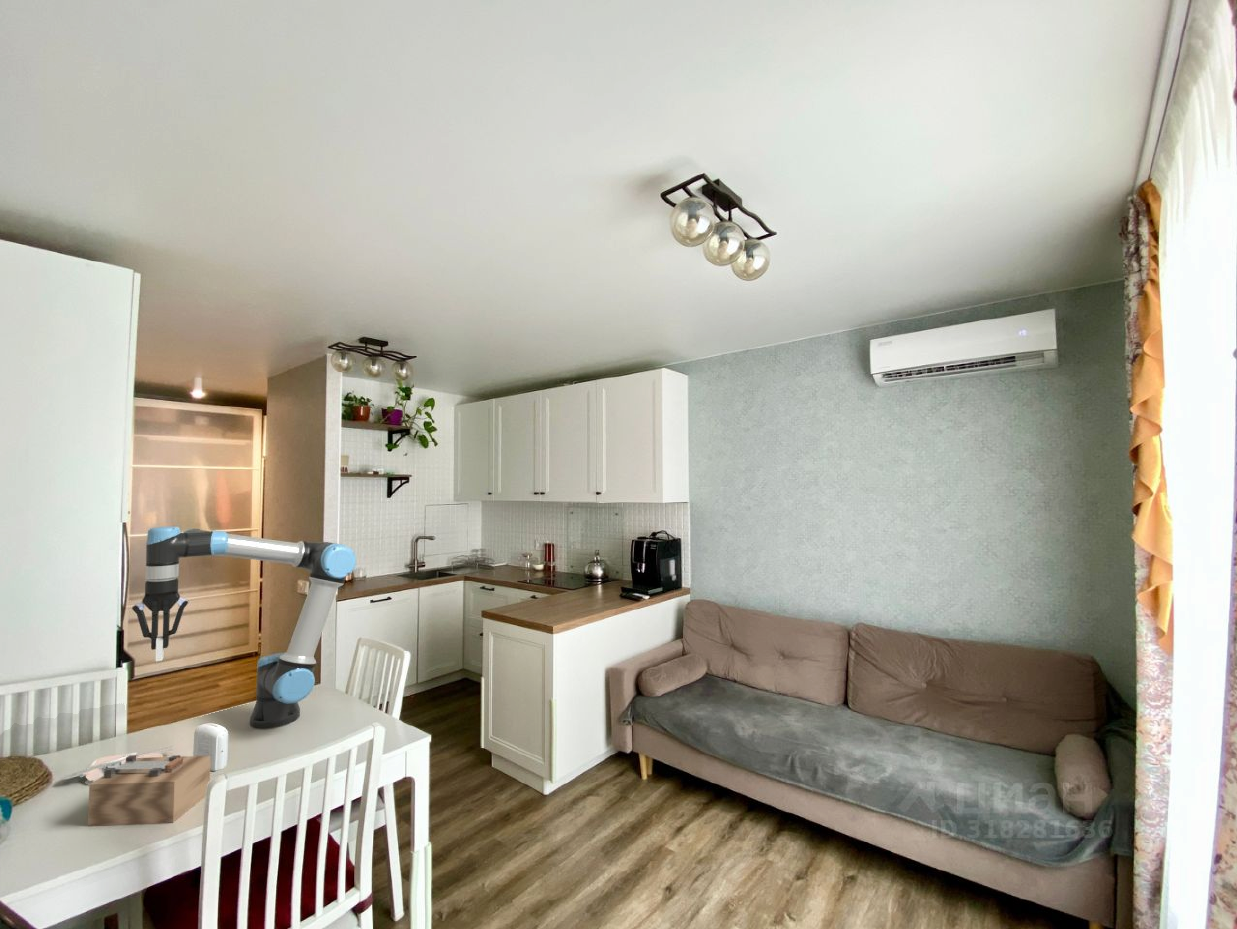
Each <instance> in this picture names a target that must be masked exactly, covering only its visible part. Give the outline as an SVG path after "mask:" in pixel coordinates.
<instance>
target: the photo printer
mask: <svg viewBox="0 0 1237 929" xmlns="http://www.w3.org/2000/svg"><path fill="white" fill-rule="evenodd" d="M228 748H229V731H228V730H227V729H226V727H225V726H222V725H220V724H217V723H213V722H212V723H210V722H208V723H203V724H200V725H198V726H197V727H196V728H195V729H194V732H193V753H192V754H193V755H192V756H211V757H210V772H211V771H212V772H215V771H216V772H218V771H221V770H222V769H224V768H226V766H227V765H228V754H229V753H228V751H229V749H228Z"/></svg>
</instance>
